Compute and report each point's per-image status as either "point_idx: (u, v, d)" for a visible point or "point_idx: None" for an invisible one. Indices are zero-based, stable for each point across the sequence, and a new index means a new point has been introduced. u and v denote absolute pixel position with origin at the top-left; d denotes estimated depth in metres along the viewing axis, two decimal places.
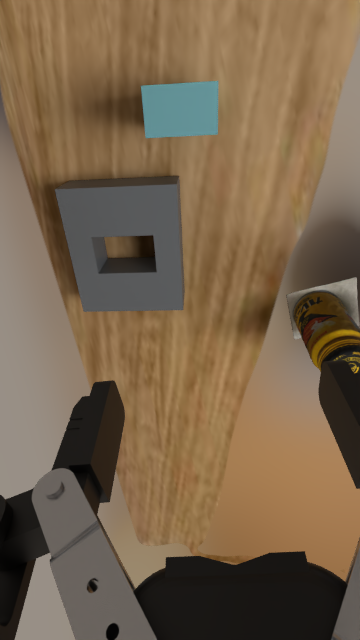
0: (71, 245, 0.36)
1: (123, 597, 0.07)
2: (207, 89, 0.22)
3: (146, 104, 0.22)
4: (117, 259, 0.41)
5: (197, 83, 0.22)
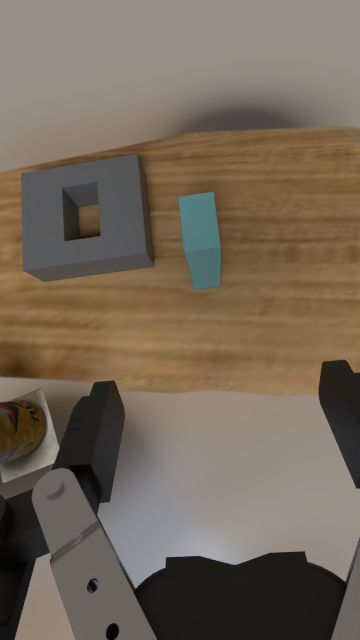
0: (88, 164, 0.39)
1: (123, 597, 0.07)
2: (214, 239, 0.27)
3: (201, 196, 0.28)
4: (77, 215, 0.42)
5: (217, 232, 0.28)
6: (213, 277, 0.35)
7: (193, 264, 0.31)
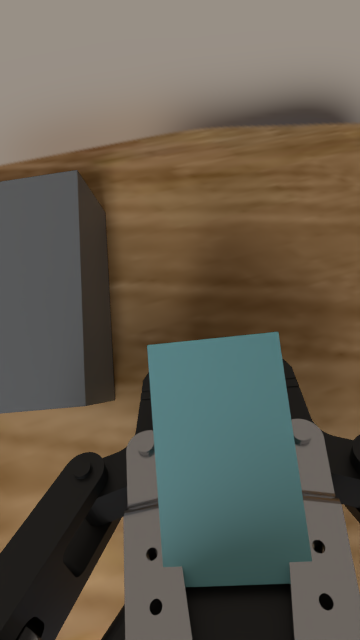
0: None
1: (174, 581, 0.07)
2: (287, 543, 0.07)
3: (233, 347, 0.08)
4: None
5: (301, 509, 0.07)
6: None
7: None
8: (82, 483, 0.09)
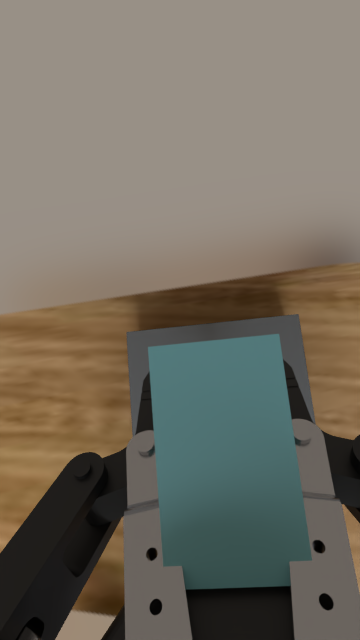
0: (226, 326, 0.27)
1: (174, 581, 0.07)
2: (288, 545, 0.07)
3: (233, 349, 0.08)
4: None
5: (301, 511, 0.07)
6: None
7: None
8: (82, 483, 0.09)
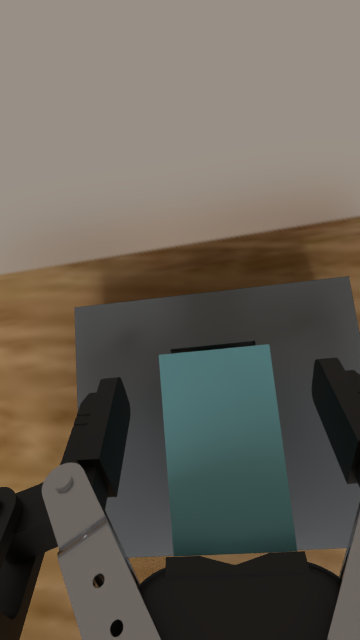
0: (231, 296, 0.17)
1: (128, 594, 0.07)
2: (275, 520, 0.08)
3: (231, 357, 0.09)
4: None
5: (286, 492, 0.08)
6: None
7: None
8: None
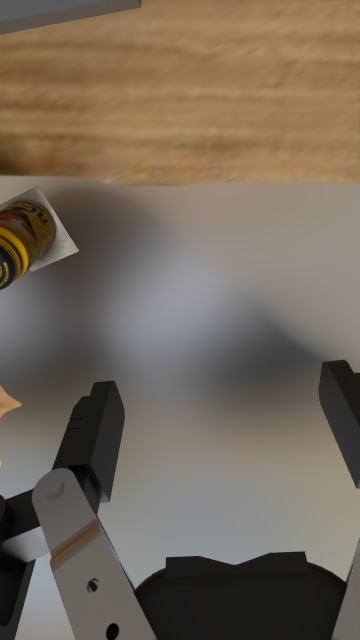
0: None
1: (123, 597, 0.07)
2: None
3: None
4: None
5: None
6: None
7: None
8: None
